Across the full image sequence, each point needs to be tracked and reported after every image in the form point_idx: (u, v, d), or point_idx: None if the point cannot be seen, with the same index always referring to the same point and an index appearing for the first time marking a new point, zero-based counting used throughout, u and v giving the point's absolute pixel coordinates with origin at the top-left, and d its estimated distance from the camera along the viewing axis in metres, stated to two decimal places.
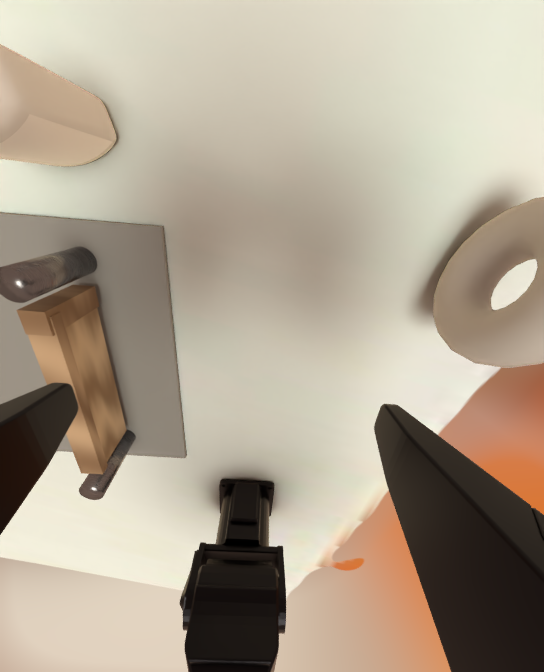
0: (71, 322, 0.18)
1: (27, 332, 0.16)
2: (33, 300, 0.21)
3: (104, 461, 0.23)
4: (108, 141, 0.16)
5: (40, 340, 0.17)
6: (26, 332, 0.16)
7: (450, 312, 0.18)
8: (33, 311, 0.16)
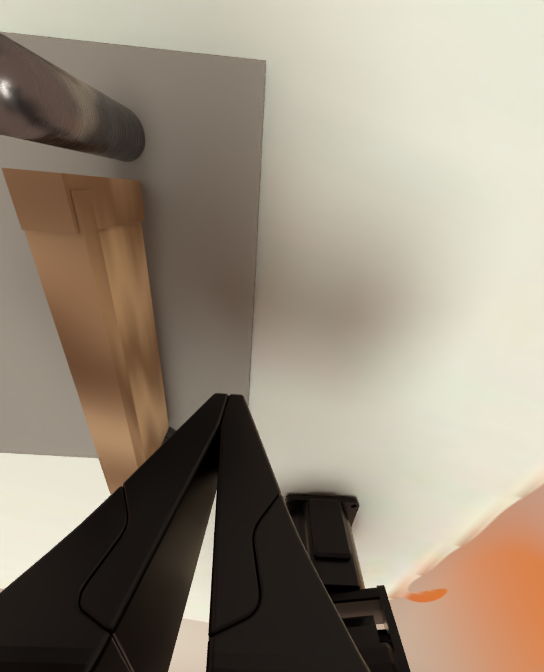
0: (107, 224, 0.10)
1: (25, 225, 0.08)
2: None
3: None
4: None
5: (51, 246, 0.09)
6: (23, 225, 0.08)
7: None
8: (37, 171, 0.07)
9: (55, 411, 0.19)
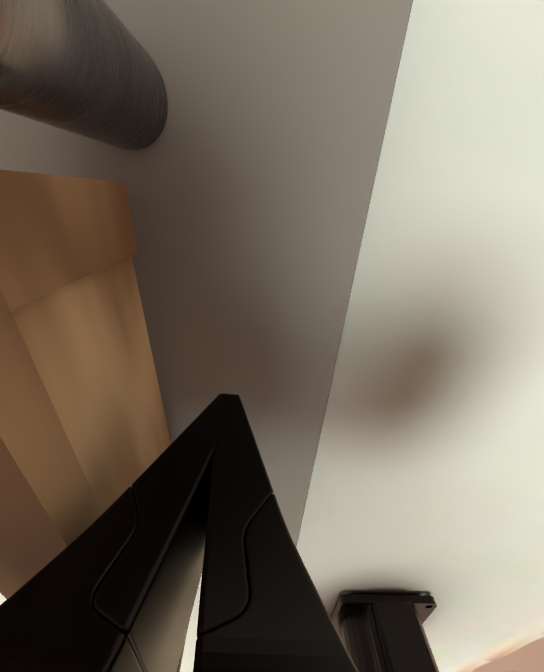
0: (45, 286, 0.04)
1: None
2: None
3: None
4: None
5: None
6: None
7: None
8: None
9: None
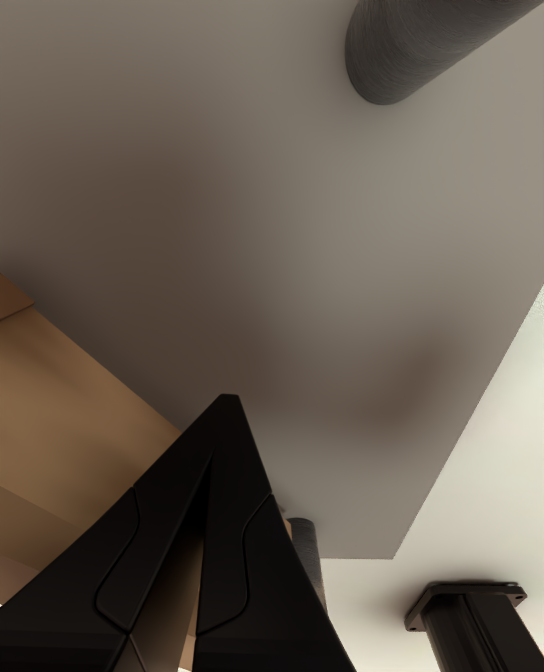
0: None
1: None
2: (179, 210, 0.07)
3: None
4: None
5: None
6: None
7: None
8: None
9: None
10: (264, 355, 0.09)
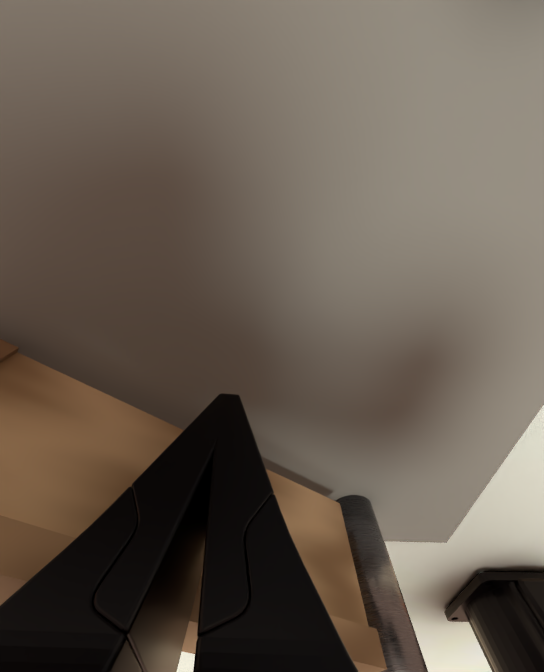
0: None
1: None
2: (283, 124, 0.06)
3: (359, 633, 0.08)
4: None
5: None
6: None
7: None
8: None
9: None
10: (350, 305, 0.08)
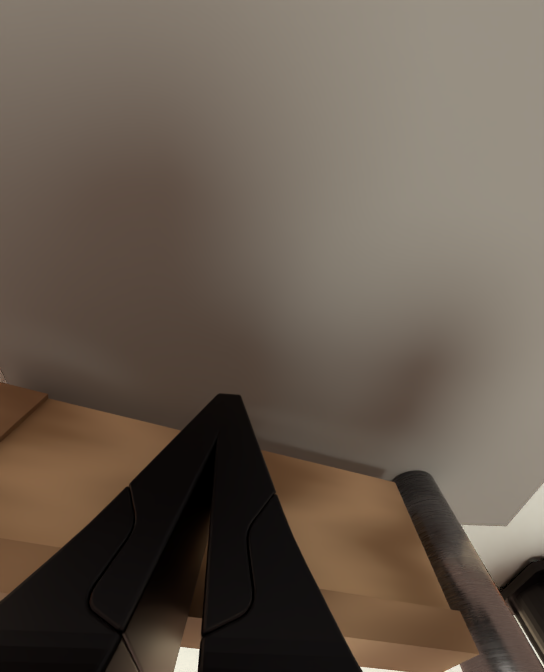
0: None
1: None
2: (413, 0, 0.05)
3: (437, 618, 0.07)
4: None
5: None
6: None
7: None
8: None
9: None
10: (451, 240, 0.07)
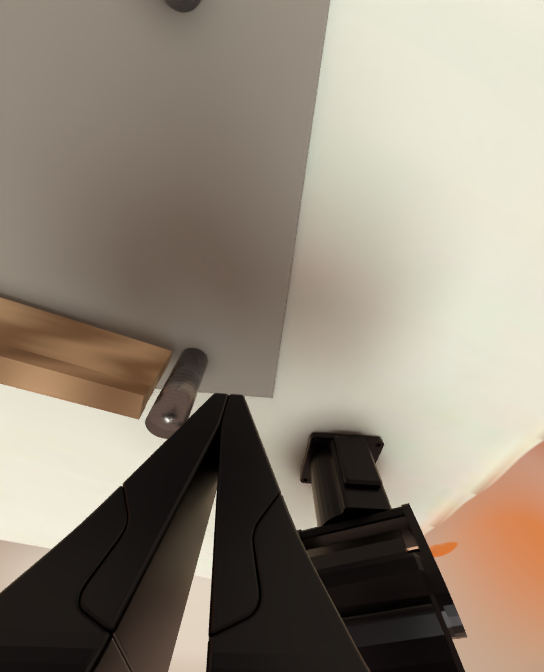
0: None
1: None
2: (77, 76, 0.12)
3: (131, 383, 0.14)
4: None
5: None
6: None
7: None
8: None
9: None
10: (145, 192, 0.14)
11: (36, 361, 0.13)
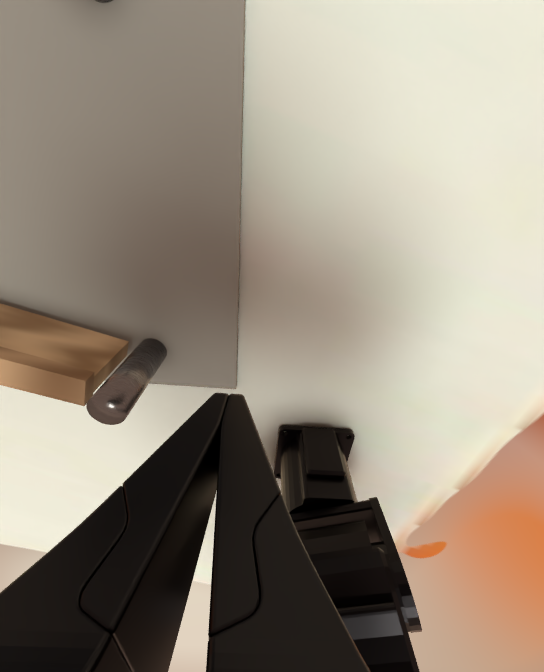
0: None
1: None
2: (10, 69, 0.12)
3: (74, 369, 0.14)
4: None
5: None
6: None
7: None
8: None
9: None
10: (87, 181, 0.15)
11: None
